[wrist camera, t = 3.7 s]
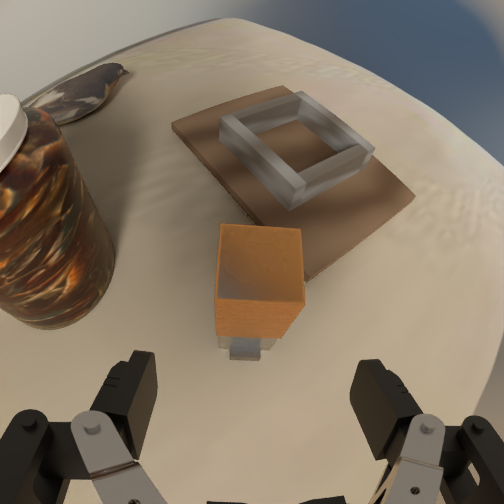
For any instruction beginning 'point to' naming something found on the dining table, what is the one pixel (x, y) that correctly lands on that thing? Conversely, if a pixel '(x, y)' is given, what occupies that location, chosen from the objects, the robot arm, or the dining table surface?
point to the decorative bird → (80, 93)
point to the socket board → (296, 170)
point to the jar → (46, 225)
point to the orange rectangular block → (257, 287)
